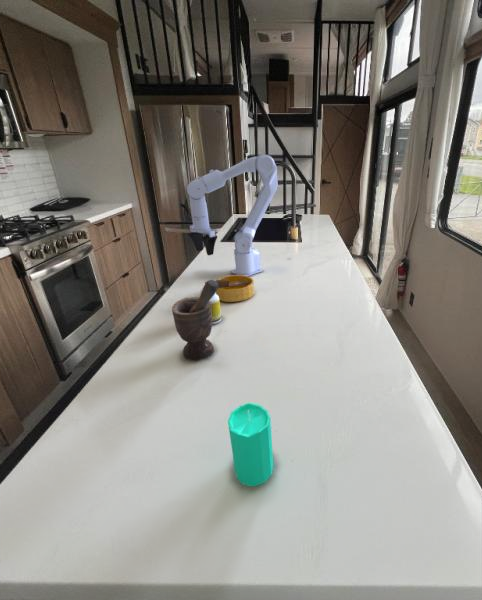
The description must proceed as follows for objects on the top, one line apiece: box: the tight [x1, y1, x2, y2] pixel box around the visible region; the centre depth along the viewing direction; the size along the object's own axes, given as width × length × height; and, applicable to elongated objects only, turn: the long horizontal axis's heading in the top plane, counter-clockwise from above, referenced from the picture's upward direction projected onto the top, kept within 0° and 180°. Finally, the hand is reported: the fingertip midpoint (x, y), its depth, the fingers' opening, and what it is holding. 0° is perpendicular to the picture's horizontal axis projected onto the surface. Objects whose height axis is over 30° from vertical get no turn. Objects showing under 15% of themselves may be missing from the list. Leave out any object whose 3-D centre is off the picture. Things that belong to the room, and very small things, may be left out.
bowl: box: [216, 274, 255, 303], centre depth 108 cm, size 13×13×4 cm
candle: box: [227, 402, 274, 487], centre depth 48 cm, size 6×6×12 cm
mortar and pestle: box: [171, 279, 218, 362], centre depth 75 cm, size 12×9×20 cm
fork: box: [204, 279, 249, 289], centre depth 106 cm, size 16×2×2 cm, turn 134°
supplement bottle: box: [200, 287, 223, 325], centre depth 92 cm, size 5×5×10 cm
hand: (205, 252), depth 122 cm, fingers open, 7 cm apart
